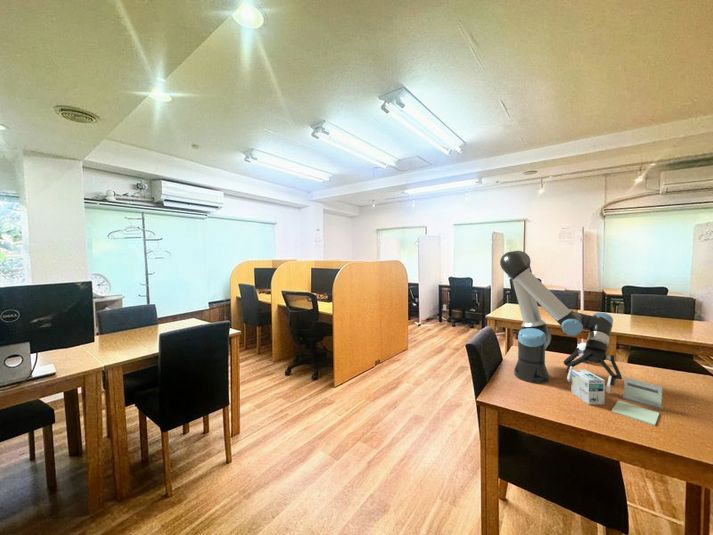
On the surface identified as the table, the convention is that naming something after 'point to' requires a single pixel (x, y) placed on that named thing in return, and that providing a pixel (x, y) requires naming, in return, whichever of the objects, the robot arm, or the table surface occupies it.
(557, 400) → the table surface
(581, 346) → the light bulb
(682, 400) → the table surface
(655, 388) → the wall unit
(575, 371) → the light bulb box
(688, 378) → the table surface
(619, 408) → the pad
